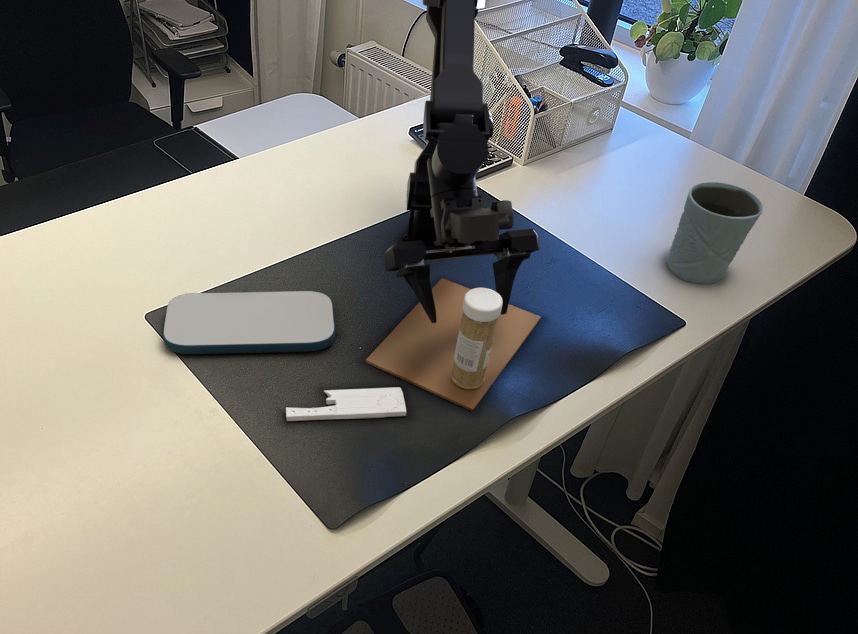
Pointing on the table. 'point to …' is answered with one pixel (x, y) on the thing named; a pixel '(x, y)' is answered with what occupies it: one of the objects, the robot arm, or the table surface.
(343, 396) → the white plastic blade
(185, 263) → the table surface
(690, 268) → the green ceramic cup
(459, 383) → the sprinkles bottle
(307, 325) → the external hard drive
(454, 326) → the cork placemat
